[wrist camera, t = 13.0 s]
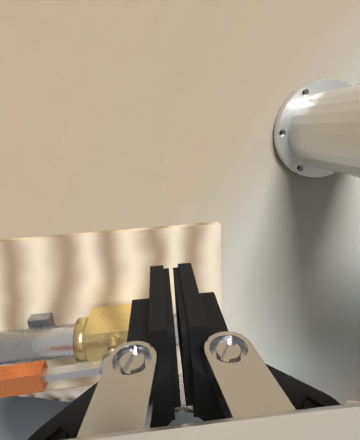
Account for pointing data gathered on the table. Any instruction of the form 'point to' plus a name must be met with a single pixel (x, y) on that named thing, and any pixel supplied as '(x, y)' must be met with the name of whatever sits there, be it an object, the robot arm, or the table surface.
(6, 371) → the valve handle
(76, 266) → the valve board
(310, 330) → the table surface
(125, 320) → the pipe and valve
